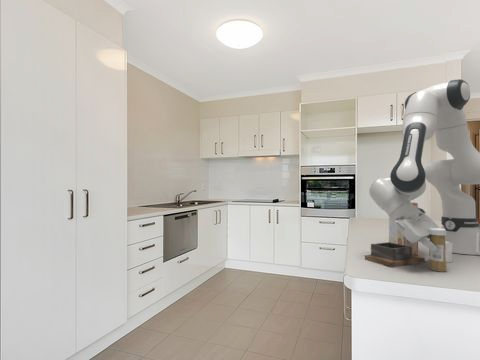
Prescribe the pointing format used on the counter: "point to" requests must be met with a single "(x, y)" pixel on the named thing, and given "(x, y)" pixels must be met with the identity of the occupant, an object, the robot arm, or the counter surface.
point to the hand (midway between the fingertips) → (439, 249)
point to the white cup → (448, 251)
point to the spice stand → (392, 255)
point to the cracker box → (401, 236)
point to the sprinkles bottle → (439, 255)
